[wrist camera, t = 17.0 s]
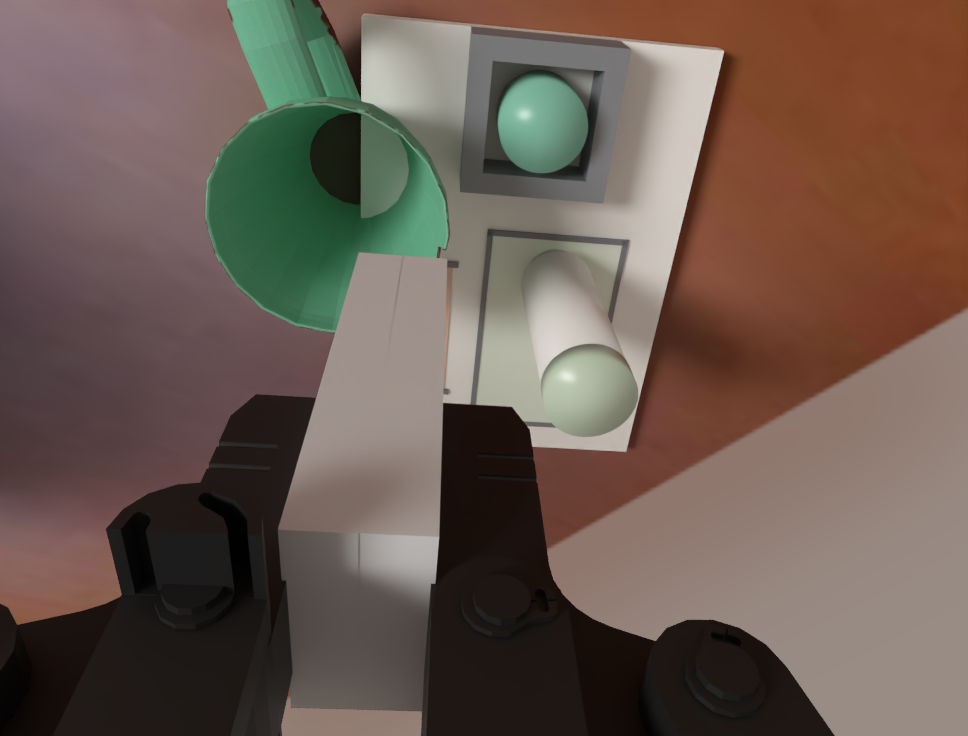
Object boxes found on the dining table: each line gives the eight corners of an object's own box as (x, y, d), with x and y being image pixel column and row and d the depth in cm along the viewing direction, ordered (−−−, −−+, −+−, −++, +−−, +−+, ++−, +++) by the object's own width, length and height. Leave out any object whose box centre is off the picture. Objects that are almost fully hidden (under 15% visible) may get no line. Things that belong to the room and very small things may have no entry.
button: (492, 152, 36) (494, 169, 34) (500, 66, 34) (504, 78, 32) (572, 158, 36) (580, 176, 34) (585, 74, 34) (595, 86, 32)
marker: (514, 304, 41) (538, 435, 31) (521, 239, 39) (550, 357, 29) (583, 307, 41) (629, 438, 31) (593, 243, 39) (646, 360, 29)
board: (361, 427, 47) (354, 462, 44) (363, 13, 34) (355, 22, 31) (623, 442, 48) (634, 477, 45) (717, 47, 35) (741, 59, 32)
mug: (470, 224, 40) (474, 307, 32) (300, 264, 41) (260, 354, 33) (393, -81, 33) (371, -80, 24) (187, -24, 33) (95, -5, 25)
